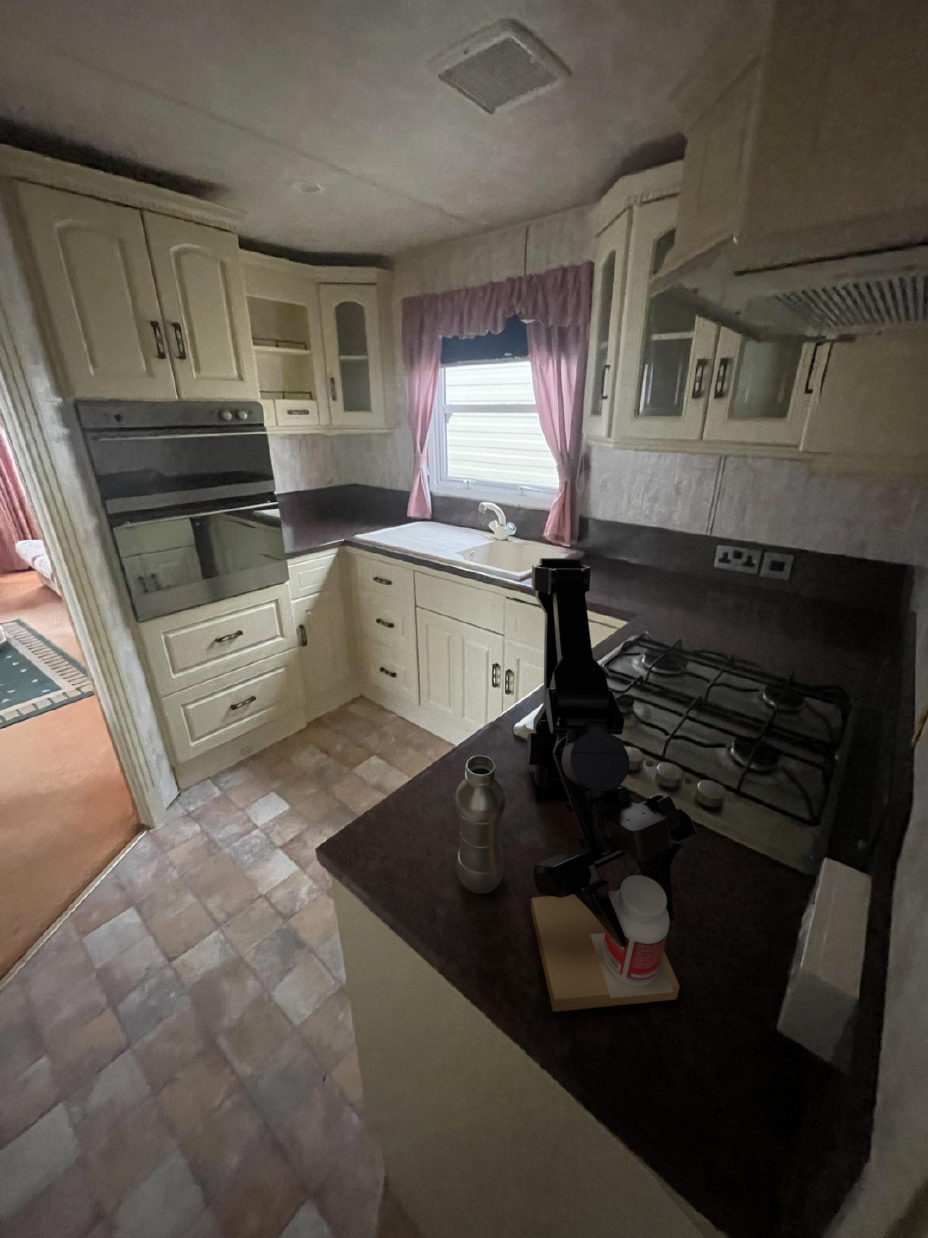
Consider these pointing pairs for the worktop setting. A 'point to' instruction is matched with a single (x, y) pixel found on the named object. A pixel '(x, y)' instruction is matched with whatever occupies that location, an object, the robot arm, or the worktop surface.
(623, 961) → the pill bottle
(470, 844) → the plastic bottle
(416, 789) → the worktop surface
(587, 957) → the labeled cardboard parcel
